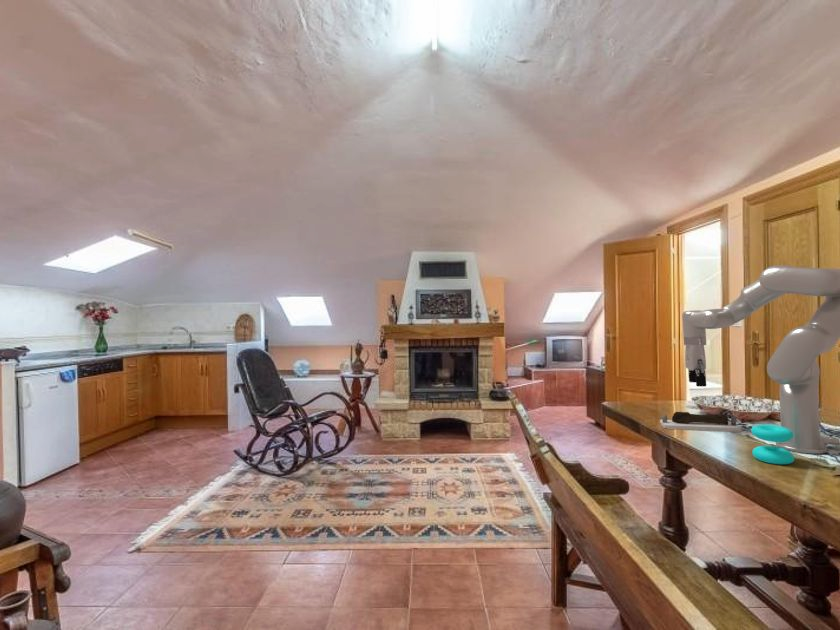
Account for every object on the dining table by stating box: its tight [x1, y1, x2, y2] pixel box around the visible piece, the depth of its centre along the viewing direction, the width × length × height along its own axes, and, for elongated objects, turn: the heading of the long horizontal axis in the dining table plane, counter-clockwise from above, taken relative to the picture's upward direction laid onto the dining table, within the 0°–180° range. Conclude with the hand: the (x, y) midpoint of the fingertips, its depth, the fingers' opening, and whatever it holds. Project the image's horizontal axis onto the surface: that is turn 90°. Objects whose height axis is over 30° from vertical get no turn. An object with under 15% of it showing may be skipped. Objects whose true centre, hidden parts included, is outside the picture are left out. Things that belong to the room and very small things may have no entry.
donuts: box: [750, 424, 795, 465], centre depth 128 cm, size 10×10×10 cm
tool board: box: [659, 414, 743, 433], centre depth 164 cm, size 26×9×4 cm, turn 71°
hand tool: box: [671, 411, 729, 425], centre depth 165 cm, size 19×4×5 cm, turn 71°
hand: (697, 384), depth 164 cm, fingers open, 9 cm apart
